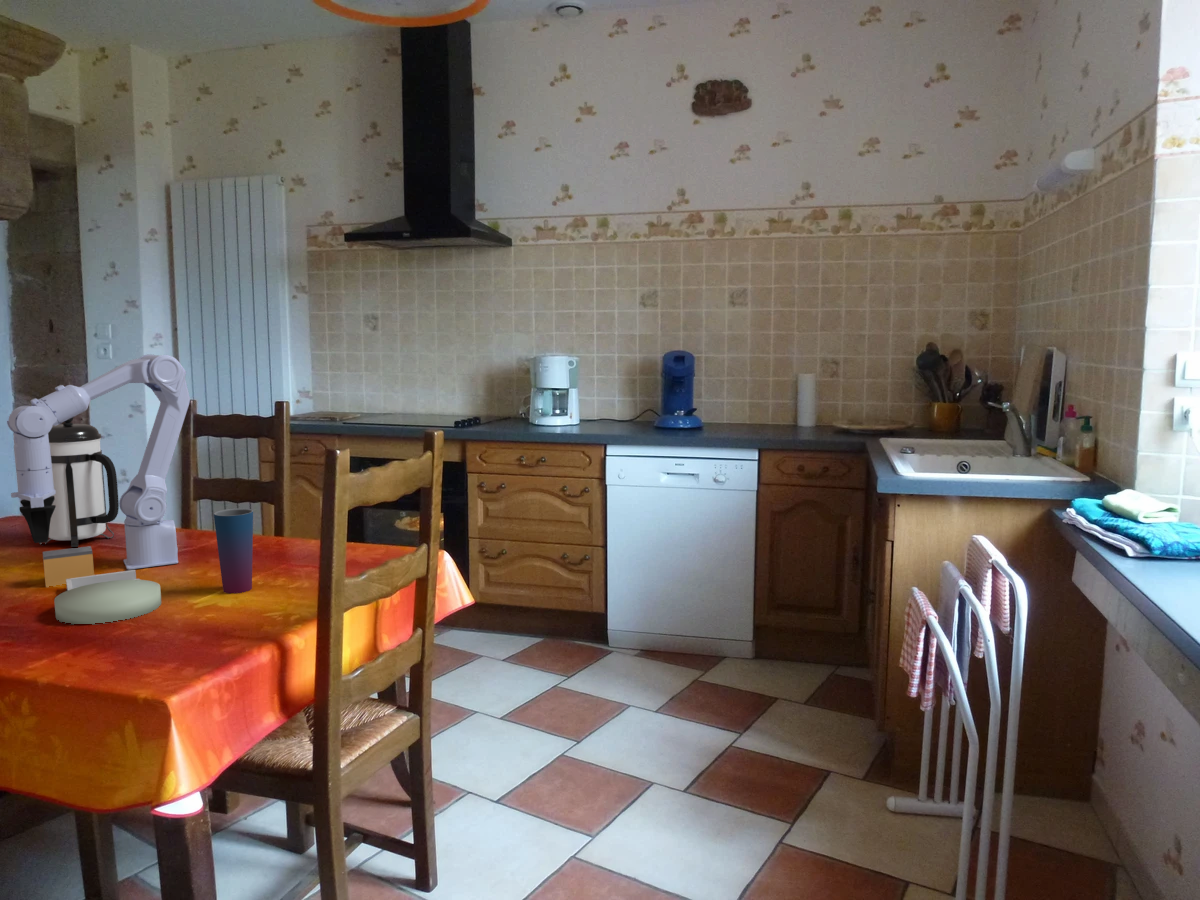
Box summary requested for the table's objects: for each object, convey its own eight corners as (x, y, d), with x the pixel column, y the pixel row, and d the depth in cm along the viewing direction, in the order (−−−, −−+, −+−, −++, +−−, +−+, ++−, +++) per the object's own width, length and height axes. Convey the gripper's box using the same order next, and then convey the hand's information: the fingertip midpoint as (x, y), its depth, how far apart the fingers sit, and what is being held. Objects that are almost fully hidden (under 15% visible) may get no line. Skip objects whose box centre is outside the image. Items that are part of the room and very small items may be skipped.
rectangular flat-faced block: (93, 575, 168) (90, 546, 167) (94, 581, 164) (92, 550, 163) (45, 582, 163) (42, 551, 162) (45, 587, 160) (43, 556, 159)
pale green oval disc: (148, 577, 166) (147, 563, 166) (167, 613, 145) (166, 596, 144) (52, 591, 157) (51, 575, 157) (57, 631, 136) (55, 613, 135)
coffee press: (31, 553, 185) (19, 417, 181) (46, 537, 199) (35, 411, 195) (121, 545, 191) (111, 415, 187) (129, 530, 206) (120, 409, 202)
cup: (219, 597, 154) (214, 517, 152) (217, 587, 160) (212, 510, 158) (258, 592, 157) (254, 513, 155) (255, 582, 163) (251, 507, 161)
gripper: (9, 465, 164) (16, 533, 165) (7, 476, 152) (15, 548, 154) (52, 462, 167) (58, 528, 169) (54, 472, 156) (60, 543, 157)
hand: (41, 538), depth 162 cm, fingers open, 7 cm apart
